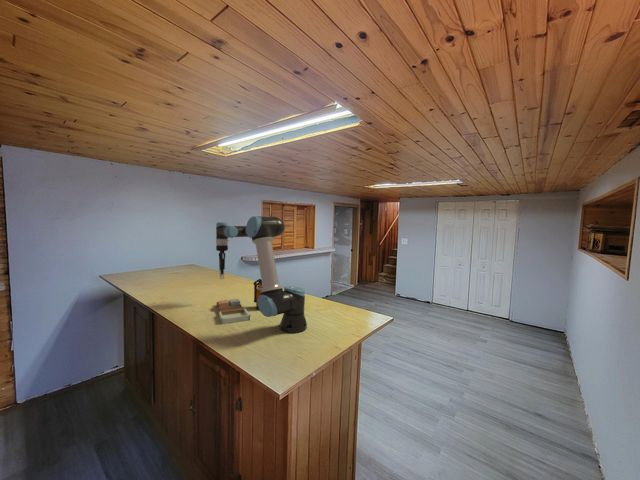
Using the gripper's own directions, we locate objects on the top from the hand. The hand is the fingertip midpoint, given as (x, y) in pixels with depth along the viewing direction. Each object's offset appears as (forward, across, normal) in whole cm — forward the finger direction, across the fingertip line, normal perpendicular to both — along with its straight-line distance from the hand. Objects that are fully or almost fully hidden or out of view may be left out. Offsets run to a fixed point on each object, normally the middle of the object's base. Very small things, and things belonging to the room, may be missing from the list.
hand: (221, 278), depth 185 cm
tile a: (+16, -10, 0) cm, 19 cm away
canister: (+19, -17, -24) cm, 34 cm away
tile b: (+16, -10, -7) cm, 20 cm away
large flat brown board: (+18, -12, -4) cm, 22 cm away
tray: (+18, -30, -4) cm, 35 cm away
